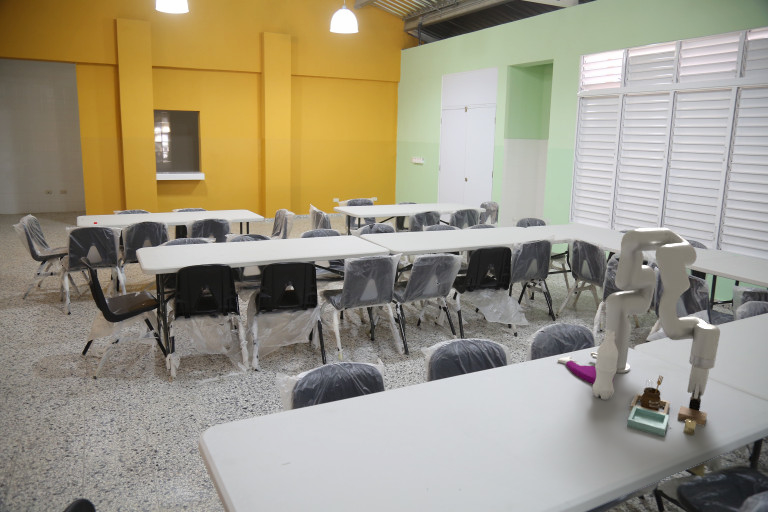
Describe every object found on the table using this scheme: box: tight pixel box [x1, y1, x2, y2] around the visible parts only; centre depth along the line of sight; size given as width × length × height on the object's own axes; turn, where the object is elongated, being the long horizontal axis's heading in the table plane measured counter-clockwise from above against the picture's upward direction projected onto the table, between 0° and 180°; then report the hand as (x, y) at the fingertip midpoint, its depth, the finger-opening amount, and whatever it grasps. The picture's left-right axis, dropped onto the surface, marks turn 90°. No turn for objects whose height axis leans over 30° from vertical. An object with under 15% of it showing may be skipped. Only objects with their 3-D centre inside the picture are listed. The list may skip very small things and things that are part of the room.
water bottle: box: [592, 330, 618, 401], centre depth 206 cm, size 7×7×25 cm
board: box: [677, 405, 708, 426], centre depth 195 cm, size 8×6×2 cm
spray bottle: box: [557, 355, 615, 385], centre depth 229 cm, size 3×11×24 cm
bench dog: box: [683, 419, 697, 436], centre depth 185 cm, size 3×3×4 cm
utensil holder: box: [640, 375, 664, 412], centre depth 199 cm, size 6×6×12 cm
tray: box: [626, 406, 670, 437], centre depth 190 cm, size 11×11×2 cm
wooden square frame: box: [629, 393, 671, 415], centre depth 200 cm, size 11×11×2 cm
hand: (693, 409), depth 199 cm, fingers closed
